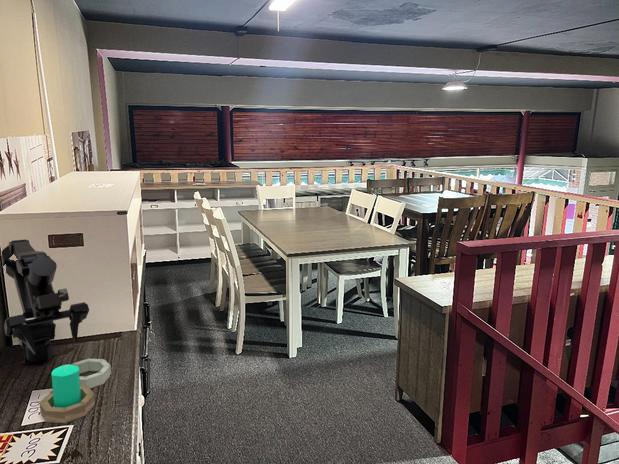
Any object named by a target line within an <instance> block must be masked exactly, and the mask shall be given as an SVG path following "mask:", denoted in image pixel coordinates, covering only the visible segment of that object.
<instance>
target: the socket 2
mask: <svg viewBox="0 0 619 464" xmlns="http://www.w3.org/2000/svg"><path fill="white" fill-rule="evenodd" d="M70 365H74V366H78V368H79V377H80V386H88V387H89V388H90V389H92V388H96V387H98V386H101V385H104V384H105V383H106V382H107V381H108V379H109V378H110V377H111V376H112V372H111V371H112V369H111V368H112V367H111V364H110V363H109V362H107V360H106V359H102V358H86V359H82V360H80V361H76V362H74V363H73V362H72V363H70ZM86 372H96V373H93V374H90V375H86V376H81V374H83V373H86ZM110 375H111V376H110Z"/></svg>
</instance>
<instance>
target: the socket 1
mask: <svg viewBox="0 0 619 464" xmlns="http://www.w3.org/2000/svg"><path fill="white" fill-rule="evenodd" d="M80 391H81V402H80V403H77V404H75V405H72V406H69V407H66V408H58V407H54V399H53V390H52V391H49V393H47V394H46V395H45V396H44V397H43V398H42V399H41V400H40V401H39V413H40V416H41V417H42V418H43V419H44V421H45V423H50V424H51V423H53V424H54V423H55V424H67V423H69V422H73V421H74V420H77V419H80V418H82V417H85V416H87V415H88V413H89V412H90V411H91V410H92V409H93V407H94V406H95V393H94V391H92V388H89V387H88V386H80Z"/></svg>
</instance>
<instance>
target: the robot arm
mask: <svg viewBox="0 0 619 464" xmlns="http://www.w3.org/2000/svg"><path fill="white" fill-rule="evenodd" d="M2 250H3V251H2ZM2 250H1V251H2V266H1V268H4V267H3V266H4V265H5V264H6V272H5V274H6V273H7V274H8V275H7V274H6V275H7V276H9V277H10V278H12V279H13V281H14V285H15V289H16V291H17V296H18V299H19V303H20V306H21V310H22V314H19V315H13V316H8V317H7V318H6V319H5V321H4V325H3V327H4V333H5V336H6V337H11V336H12V338H17V340H18V343H19V344H20V347H21V348H23V357H24V358H23V359H24V360H22V361H20V364H21V365H30V366H43V365H45V364H46V363H48V362H49V361H50V360H51V359H52V358H53V357H54V356H55V353H54V351H53V344H52V343H51V341H54V340H55V337H56V328H57V325H56V323H54V321H57V320H63V319H67V318H69V322H70V323H69V328H70V331H71V337H72V342H73V344H74V345H76V344H77V342H78V336H79V335H78V334H79V333H78V332H79V326H80V324H81V323H82V322H83V320H86V319H87V317H88V314H89V312H90V308H89V304H88V303H86V302H78V303H73V304H71V305H70V306H69V309H67V310H62V304H63V302H67V301H69V299H70V297H69V293H68V289H67V287H64V288H60V289H58V290H57V292H55V291H54V287H53V281H54V279H55V275H56V271H57V267H58V264H57V262H56V261H55V260H53V259H52V258H51V257H50V255H47V253H46V252H45V251H42V250H41V251H39V250H37V251H36V250H35V248H34V247H33V246H32V245H31V244H30V240H29V239H14V240H11V241H8V245H7V246H6V247H4V248H3V249H2ZM13 254H14V255H15V256H16V258H17V259H18V260H16V261H14V260H10V259H9V258H10V257H11V256H12V255H13ZM60 310H62V311H60Z"/></svg>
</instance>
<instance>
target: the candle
mask: <svg viewBox="0 0 619 464" xmlns="http://www.w3.org/2000/svg"><path fill="white" fill-rule="evenodd" d="M79 376H80V374H79V368H78V366H74V365H71V364H68V363H67V364H63V365H60V366H58V367H56V368H54V369H53V370H52V372H51V385H52V387H51V388H52V391H53V399H54V407H58V408H66V407H69V406H72V405H75V404H77V403H80V402H81V401H82V400H81V391H80V377H79Z"/></svg>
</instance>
